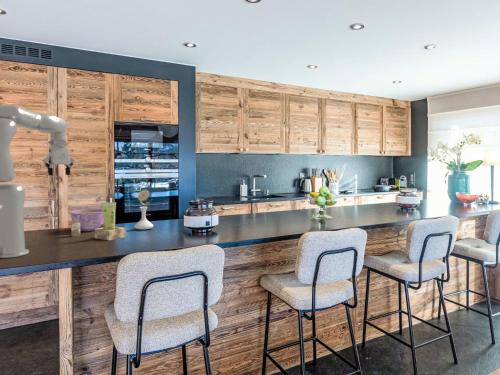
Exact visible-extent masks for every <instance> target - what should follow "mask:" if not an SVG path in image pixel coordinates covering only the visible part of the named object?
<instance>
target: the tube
mask: <svg viewBox="0 0 500 375" xmlns="http://www.w3.org/2000/svg"><path fill="white" fill-rule="evenodd" d="M116 205H117V202H116V201H113V202H111V201H110V202H101V207H102V208H101V209H102V210H103V217H104V220H103V224H104V225H103V226H104V227H105V230H113V229H115V227H116V208H117V206H116Z"/></svg>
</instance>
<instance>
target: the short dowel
mask: <svg viewBox="0 0 500 375" xmlns="http://www.w3.org/2000/svg"><path fill="white" fill-rule="evenodd" d="M70 226H71V232H70V233H71V237H72V238H73V237H75V238H76V237H81V229H80V223H73V222H72V223H71V224H70Z"/></svg>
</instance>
